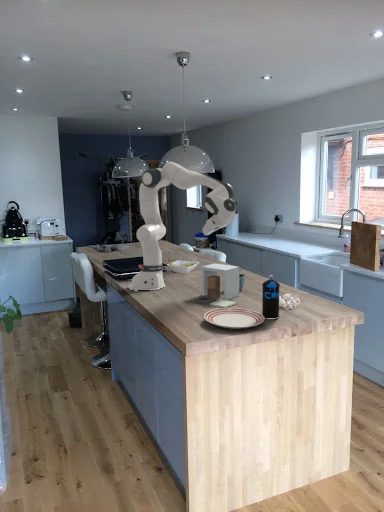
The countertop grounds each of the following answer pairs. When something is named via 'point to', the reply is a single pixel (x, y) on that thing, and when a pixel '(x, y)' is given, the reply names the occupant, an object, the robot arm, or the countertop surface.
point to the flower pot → (241, 281)
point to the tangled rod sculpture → (286, 297)
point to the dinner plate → (234, 318)
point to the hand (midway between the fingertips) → (215, 230)
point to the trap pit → (204, 299)
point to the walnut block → (213, 286)
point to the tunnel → (229, 279)
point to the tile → (223, 303)
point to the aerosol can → (270, 298)
